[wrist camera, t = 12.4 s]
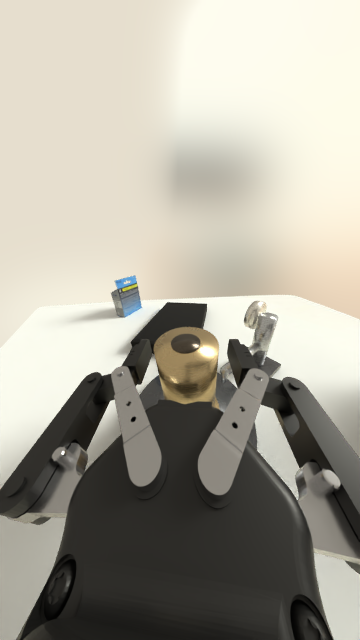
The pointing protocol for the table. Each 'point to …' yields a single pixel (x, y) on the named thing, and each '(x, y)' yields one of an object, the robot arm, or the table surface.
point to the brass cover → (188, 365)
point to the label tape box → (126, 296)
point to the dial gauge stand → (258, 339)
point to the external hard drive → (172, 321)
